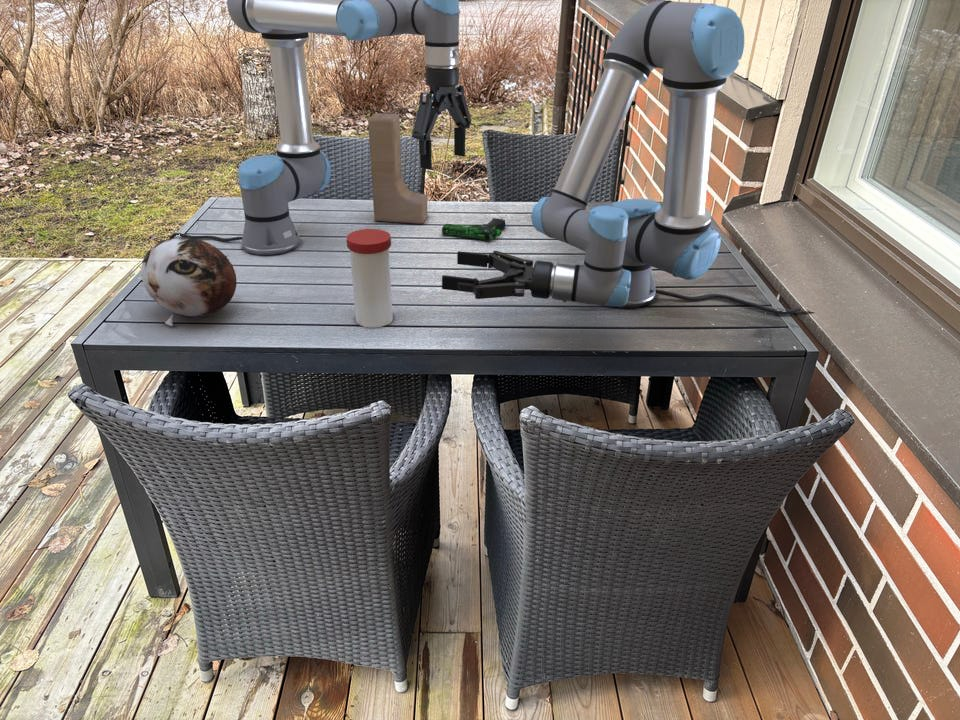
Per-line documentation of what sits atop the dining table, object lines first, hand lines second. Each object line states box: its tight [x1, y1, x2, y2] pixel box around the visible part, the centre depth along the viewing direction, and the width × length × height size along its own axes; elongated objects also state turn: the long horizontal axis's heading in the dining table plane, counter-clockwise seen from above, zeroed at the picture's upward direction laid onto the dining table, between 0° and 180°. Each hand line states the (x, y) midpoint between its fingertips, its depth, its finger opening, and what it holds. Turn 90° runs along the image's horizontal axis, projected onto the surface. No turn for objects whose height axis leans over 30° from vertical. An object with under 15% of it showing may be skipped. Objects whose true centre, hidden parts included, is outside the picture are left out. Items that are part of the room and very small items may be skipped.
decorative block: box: [367, 112, 429, 225], centre depth 209 cm, size 8×15×30 cm, turn 82°
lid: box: [346, 228, 392, 254], centre depth 151 cm, size 9×9×2 cm
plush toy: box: [140, 236, 238, 327], centre depth 157 cm, size 22×18×20 cm
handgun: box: [441, 217, 506, 242], centre depth 207 cm, size 16×3×15 cm
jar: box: [349, 248, 394, 329], centre depth 155 cm, size 8×8×19 cm
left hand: (443, 161), depth 169 cm, fingers open, 13 cm apart
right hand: (450, 269), depth 148 cm, fingers open, 13 cm apart
